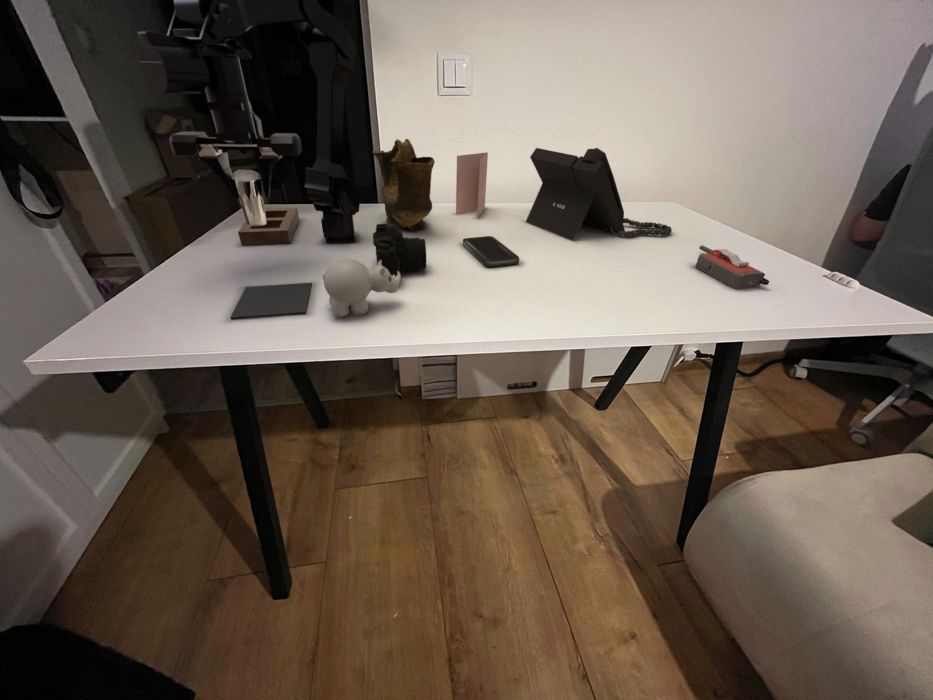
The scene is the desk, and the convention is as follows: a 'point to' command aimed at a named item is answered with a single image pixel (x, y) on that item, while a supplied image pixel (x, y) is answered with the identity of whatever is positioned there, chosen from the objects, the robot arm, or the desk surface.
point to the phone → (490, 251)
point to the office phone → (580, 195)
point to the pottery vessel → (405, 185)
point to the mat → (272, 301)
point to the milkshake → (250, 196)
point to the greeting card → (471, 182)
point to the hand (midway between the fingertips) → (253, 198)
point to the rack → (271, 228)
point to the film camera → (398, 250)
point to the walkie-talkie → (729, 269)
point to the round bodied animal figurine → (356, 285)
